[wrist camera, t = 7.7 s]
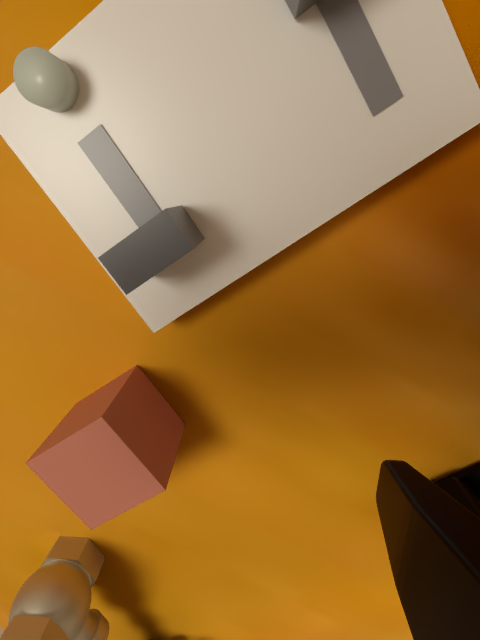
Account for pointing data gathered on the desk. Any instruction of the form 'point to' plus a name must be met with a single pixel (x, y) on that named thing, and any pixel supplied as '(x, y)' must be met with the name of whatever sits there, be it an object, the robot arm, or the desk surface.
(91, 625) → the valve
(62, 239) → the desk surface
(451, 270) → the desk surface
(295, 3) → the lever tagged
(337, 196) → the panel
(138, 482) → the block
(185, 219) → the lever
